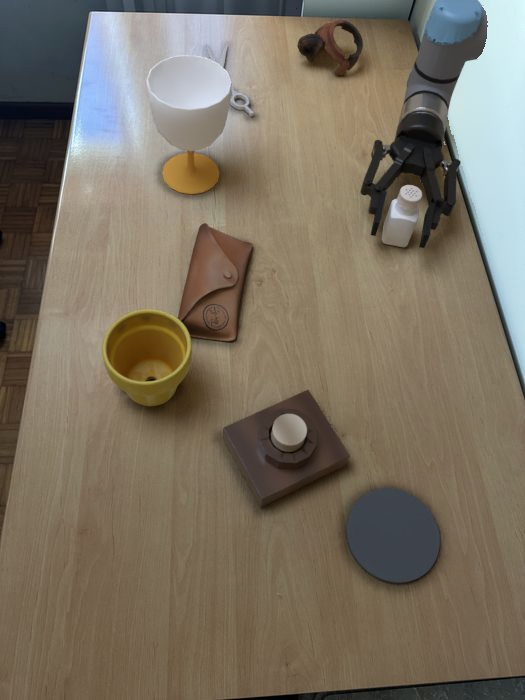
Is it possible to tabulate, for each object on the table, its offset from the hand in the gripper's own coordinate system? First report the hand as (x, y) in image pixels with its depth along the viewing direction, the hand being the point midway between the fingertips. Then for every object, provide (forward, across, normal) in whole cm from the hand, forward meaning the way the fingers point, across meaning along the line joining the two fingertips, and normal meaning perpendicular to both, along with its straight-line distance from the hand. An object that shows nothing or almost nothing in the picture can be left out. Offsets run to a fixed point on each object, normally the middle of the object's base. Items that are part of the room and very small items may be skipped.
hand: (399, 235), depth 94 cm
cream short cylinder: (+34, +8, -1) cm, 35 cm away
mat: (+40, -7, -6) cm, 41 cm away
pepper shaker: (-5, 0, -6) cm, 8 cm away
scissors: (-31, +36, -6) cm, 48 cm away
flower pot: (+30, +26, -6) cm, 40 cm away
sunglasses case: (+12, +23, -6) cm, 27 cm away
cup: (-8, +34, -6) cm, 35 cm away
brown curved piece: (-43, +19, -6) cm, 48 cm away
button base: (+34, +8, -6) cm, 35 cm away
